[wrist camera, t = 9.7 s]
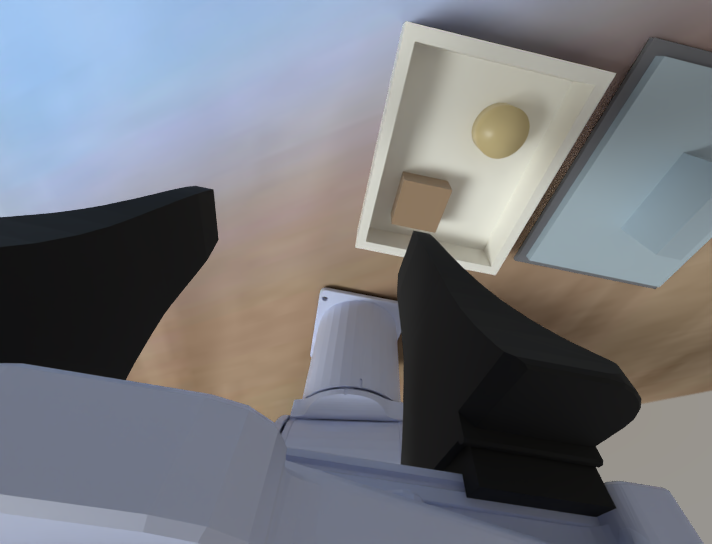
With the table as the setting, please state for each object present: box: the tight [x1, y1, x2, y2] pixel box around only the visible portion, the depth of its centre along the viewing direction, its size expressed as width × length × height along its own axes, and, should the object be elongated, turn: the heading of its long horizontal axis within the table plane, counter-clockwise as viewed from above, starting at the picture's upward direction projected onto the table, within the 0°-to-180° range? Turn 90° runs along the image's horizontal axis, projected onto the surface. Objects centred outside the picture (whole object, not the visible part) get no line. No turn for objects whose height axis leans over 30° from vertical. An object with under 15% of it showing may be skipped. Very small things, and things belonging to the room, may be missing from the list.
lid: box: [526, 56, 712, 287], centre depth 18 cm, size 12×10×4 cm
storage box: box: [355, 21, 616, 275], centre depth 18 cm, size 12×10×3 cm
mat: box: [514, 38, 712, 289], centre depth 19 cm, size 14×12×1 cm
